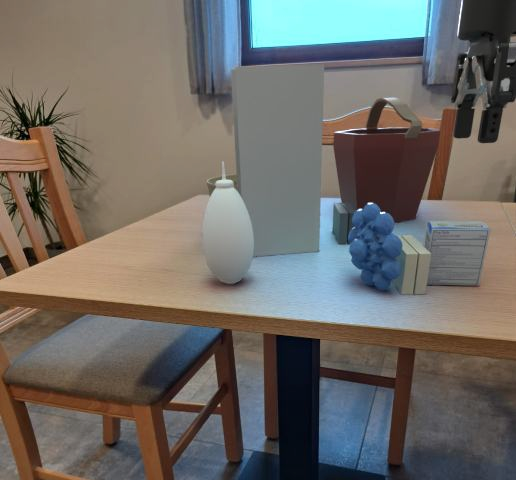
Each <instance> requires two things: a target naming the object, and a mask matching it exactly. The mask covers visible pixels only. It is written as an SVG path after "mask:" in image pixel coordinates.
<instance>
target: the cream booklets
mask: <svg viewBox="0 0 516 480" xmlns="http://www.w3.org/2000/svg"><path fill="white" fill-rule="evenodd" d="M396 235H397V236H398V237H399V238H400V239H401V241H402V245H403V246H402V251H401V253H400V255H399V256H397V257H395V258H396V259H397V260H398V261H399V262H400V264H401V273H400V275H399V277H397V278H396V279H393V280H392V283H393V284H394V287H396V288H397V291H398V292H399V293H400V294H401V296H405V295H426V294H427V287H428V285H427V280H428V273H429V266H430V259H431V253H430V252H429V251H428V250H427V249H426V248H425V245H423V244H422V243H421V242H419V240H418V239H416V238H415V237H414V235H412V234H401V235H400V234H396Z"/></svg>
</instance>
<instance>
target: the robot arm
mask: <svg viewBox="0 0 516 480" xmlns="http://www.w3.org/2000/svg"><path fill="white" fill-rule="evenodd" d="M456 37H457V38H458V40H460V41H469V47H468V51H467V52H459V53H458V54H457V57H456V64H455V71H454V78H453V84H452V90H451V97H450V102H451V104H454V108H455V109H456V111H455V112H456V113H455V120H454V127H453V133H452V135H453V138H454V139H468V138H470V137H471V136H472V131H473V123H474V117H475V111H476V108H475V106H476V105H477V102H478V100H479V97H480V95H481V103H482V110H481V115H480V122H479V127H478V133H477V143H480V144H495V143H497V141H498V140H499V134H500V130H501V129H500V128H501V124H502V119H503V112H504V109H506V108H507V106H508V104H509V103H514V102H515V101H516V41H512V42H511V38H514V37H516V0H461V5H460V13H459V19H458V26H457V36H456Z"/></svg>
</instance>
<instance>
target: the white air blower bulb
mask: <svg viewBox="0 0 516 480" xmlns="http://www.w3.org/2000/svg"><path fill="white" fill-rule="evenodd" d="M226 175H227V174H226V167H225V162H224V160H222V162H221V176H222V180H218V181H216V183H215V186H216V188H215V190H214V191H213V193H212V195H211V197H210V196H209V199H208V201H207V204H206V207H205V211H204V215H203V221H202V226H201V227H202V228H201V229H202V230H201V244H202V253H203V256H204V260H205V262H206V265H207V267H208V269H209V271H210V273H211V274H212V276H214V277H215V278H217V279H218V280H219V281H220V282H221V283H224V284H226V285H234V284H237V282H241V280H242V278H243V277H245V276H246V275H247V274H248V272H249V270H250V269H251V266H252V262H253V259H254V257H253V252H254V236H253V229H252V224H251V220H250V217H249V214H248V211H247V208H246V206H245V204H244V202H243V200H242V198H241V196H240V194H239V193H238V192H237V190H236V189H235V188H234V187H233V185H234V183H233V181H232V180H226Z"/></svg>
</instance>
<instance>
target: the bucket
mask: <svg viewBox="0 0 516 480" xmlns="http://www.w3.org/2000/svg"><path fill="white" fill-rule="evenodd" d="M387 104H388V105H389V106H390V107H391V108H393V110H394V111H395V113H396V114H397V116H399V118H401V119H402V121H405V122H408V123H410V125H409V127H378V125H379V121H380V120H381V119H380V118H381V115H382V112H383V110H384V108H385V107H386V106H387ZM440 136H441V130H440V129H437V128H434V127H423V122H422V119H420V118H419V117H418V116H417V115H416V113H414V112H413V110H411V108H410V107H409V105H408V104H407V103H405V102H404V101H402V100H401V99H400V98H398V97H382V98H381V97H380V98H377V99H376V100H375V101H374V102H373V104H372V105H371V107H370V109H369V112H368V114H367V118H366V123H365V128H353V129H352V128H351V129H346V130H340V131H334V132H333V142H332V143H333V146H332V147H333V153H334V161H335V168H336V174H337V181H338V189H339V195H340V196H339V197H340V203H351V205H352V206H353V207H354V209H355V210H356V211H357V210H358V209H364V207H365V206H366V205H367V204H368V203H374V204H377V206H378V207H379V208H380V210H381V212H386V213H388V214H390V215H391V217H392V218H393V220H394V223H395V224H396V223H402V222H406V221H413V220H416V218H417V215H418V211H419V208H420V206H421V202H422V199H423V197H424V196H423V195H424V192H425V190H426V186H427V183H428V180H429V177H430V173H431V171H432V168H433V165H434V162H435V159H436V155H437V152H438V149H439V146H440V145H439V144H440V139H441V137H440Z"/></svg>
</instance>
